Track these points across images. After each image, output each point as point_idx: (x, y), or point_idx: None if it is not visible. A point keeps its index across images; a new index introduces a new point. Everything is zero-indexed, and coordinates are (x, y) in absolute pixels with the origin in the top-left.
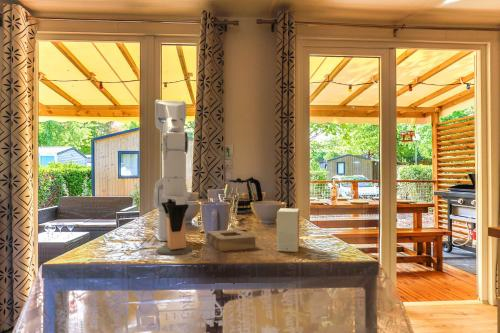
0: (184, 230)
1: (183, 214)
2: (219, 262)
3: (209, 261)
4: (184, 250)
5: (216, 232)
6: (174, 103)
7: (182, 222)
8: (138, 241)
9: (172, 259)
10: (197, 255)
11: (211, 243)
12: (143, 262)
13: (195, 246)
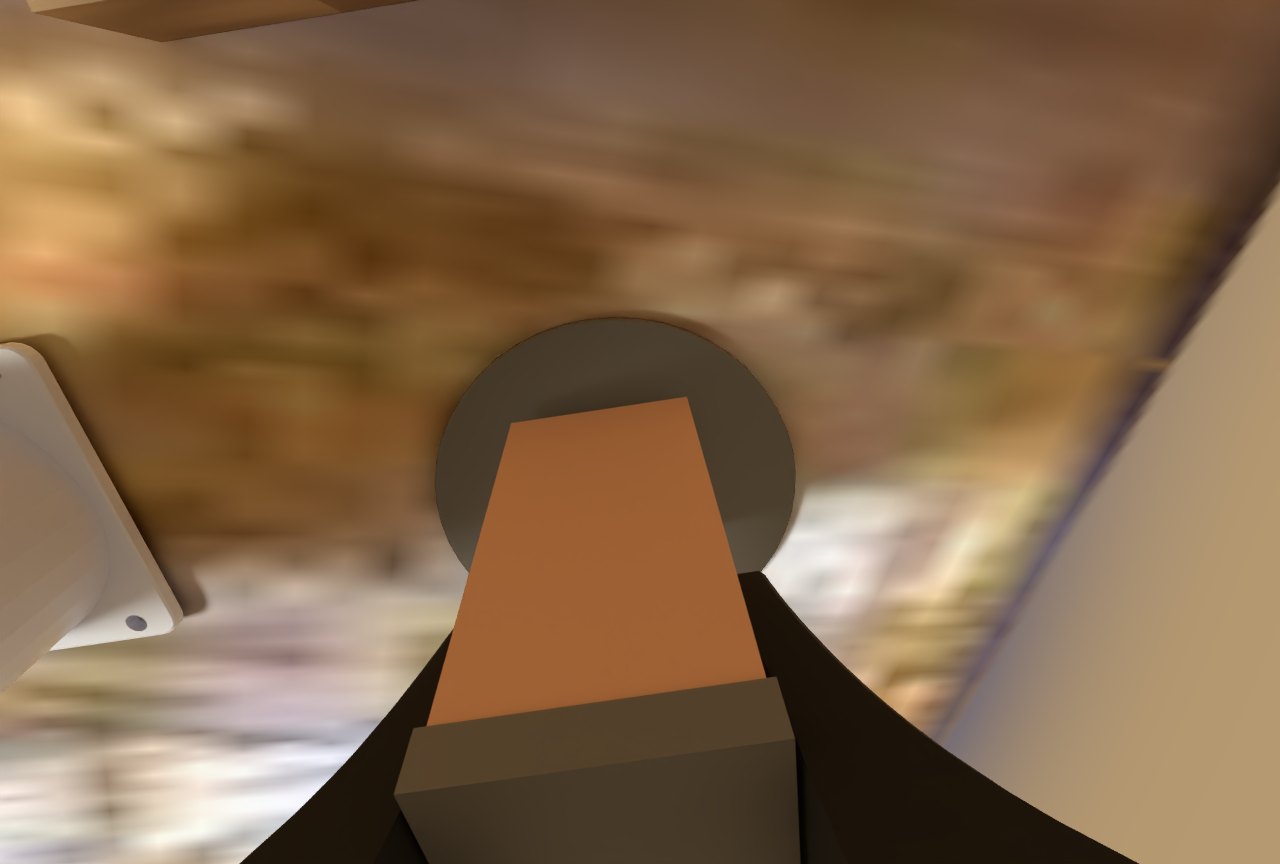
0: (720, 518)
1: (939, 762)
2: (1267, 72)
3: (1168, 181)
4: (702, 404)
5: None
6: None
7: (815, 639)
8: (163, 769)
9: (928, 508)
10: (880, 278)
11: (367, 2)
12: (921, 689)
13: (442, 254)
